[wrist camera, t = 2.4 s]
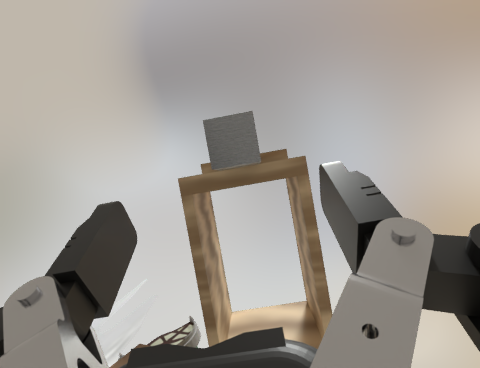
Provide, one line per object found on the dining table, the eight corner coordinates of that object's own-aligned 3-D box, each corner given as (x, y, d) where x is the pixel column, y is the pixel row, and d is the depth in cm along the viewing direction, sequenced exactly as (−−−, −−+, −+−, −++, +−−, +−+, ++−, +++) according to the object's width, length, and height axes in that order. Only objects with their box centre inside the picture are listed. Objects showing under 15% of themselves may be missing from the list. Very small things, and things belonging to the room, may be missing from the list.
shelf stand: (354, 442, 31) (302, 137, 30) (229, 456, 32) (174, 160, 31) (320, 350, 47) (285, 149, 46) (237, 361, 48) (201, 164, 47)
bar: (261, 160, 22) (252, 110, 22) (211, 169, 23) (202, 120, 22) (257, 166, 44) (253, 141, 44) (232, 171, 45) (228, 145, 44)
